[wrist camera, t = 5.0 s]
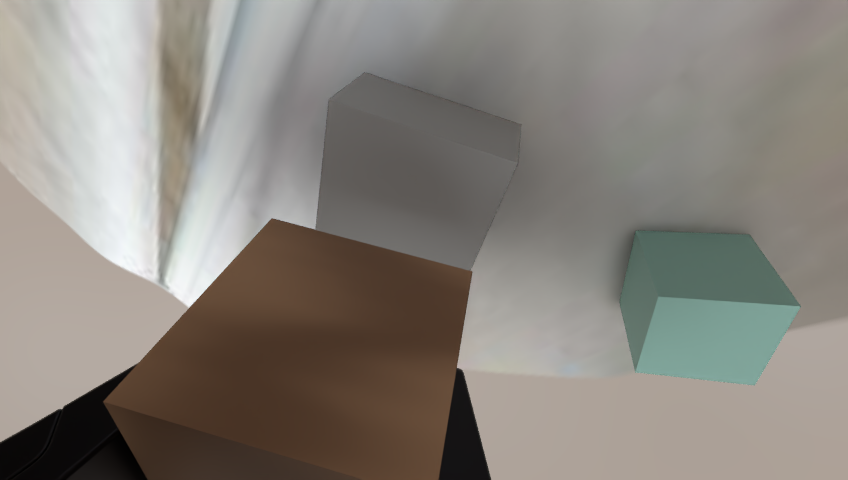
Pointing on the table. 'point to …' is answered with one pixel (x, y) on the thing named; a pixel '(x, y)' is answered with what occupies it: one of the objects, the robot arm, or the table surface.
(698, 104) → the table surface
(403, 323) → the walnut cube
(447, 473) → the robot arm
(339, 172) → the slate block
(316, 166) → the table surface
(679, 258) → the teal cube
